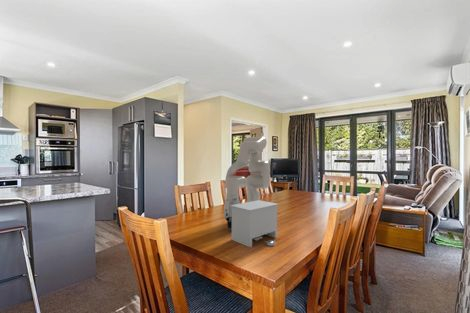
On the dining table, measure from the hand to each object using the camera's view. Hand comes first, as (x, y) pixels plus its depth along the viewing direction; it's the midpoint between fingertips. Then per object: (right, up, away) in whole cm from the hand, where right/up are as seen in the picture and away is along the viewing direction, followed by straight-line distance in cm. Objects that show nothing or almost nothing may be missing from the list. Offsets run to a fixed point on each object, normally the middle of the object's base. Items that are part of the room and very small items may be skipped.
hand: (232, 226), depth 143 cm
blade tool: (+7, -2, -7) cm, 10 cm away
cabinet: (+13, -2, -14) cm, 19 cm away
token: (+20, -3, -23) cm, 30 cm away
